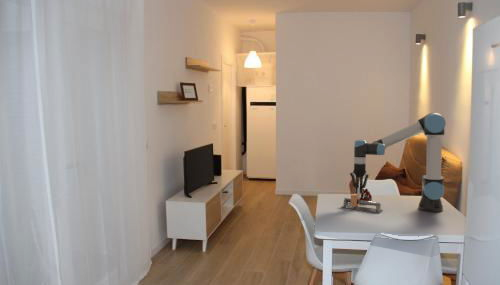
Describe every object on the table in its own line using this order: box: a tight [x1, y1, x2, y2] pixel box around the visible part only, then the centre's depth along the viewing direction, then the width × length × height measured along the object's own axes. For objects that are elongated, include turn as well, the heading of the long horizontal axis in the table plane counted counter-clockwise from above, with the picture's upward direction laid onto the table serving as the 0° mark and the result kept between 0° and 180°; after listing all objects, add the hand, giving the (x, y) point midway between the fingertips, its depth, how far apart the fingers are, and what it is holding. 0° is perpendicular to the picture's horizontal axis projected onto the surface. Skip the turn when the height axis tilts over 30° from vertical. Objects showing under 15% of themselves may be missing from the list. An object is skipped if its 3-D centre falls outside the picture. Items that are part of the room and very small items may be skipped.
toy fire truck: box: [353, 187, 373, 202], centre depth 309 cm, size 7×12×10 cm, turn 63°
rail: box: [340, 197, 384, 215], centre depth 291 cm, size 26×8×6 cm, turn 55°
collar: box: [350, 193, 360, 207], centre depth 294 cm, size 4×6×7 cm
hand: (359, 197), depth 292 cm, fingers closed
